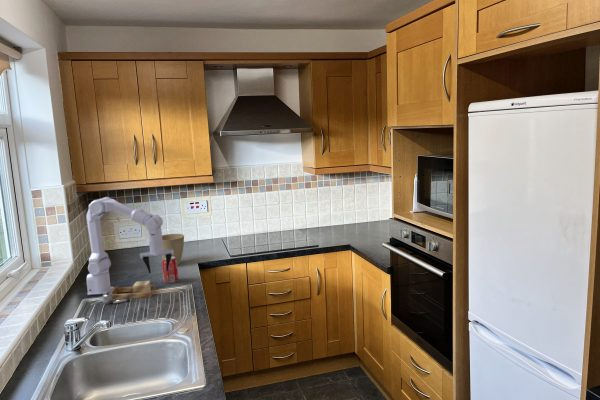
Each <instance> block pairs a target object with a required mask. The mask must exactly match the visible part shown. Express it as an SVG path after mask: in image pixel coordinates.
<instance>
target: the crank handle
mask: <svg viewBox="0 0 600 400" xmlns="http://www.w3.org/2000/svg"><path fill="white" fill-rule="evenodd" d="M124 302H125V303H126V302H127V303H128V302H131V298H130V297H129V295H127V296H126V299H115V300H113V305H115V304H120V303H124Z"/></svg>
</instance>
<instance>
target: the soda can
mask: <svg viewBox="0 0 600 400" xmlns="http://www.w3.org/2000/svg"><path fill="white" fill-rule="evenodd" d="M161 263H162V264H161V267H162V279H163V283H167V284H173V283H176V282H177V281H178V280H179V269H178V267H179V266H178V265H177V260H176V259H175V257H174V256H171V260H170V262H169V267H168V271H167V270H166V257H164V258H163V259H162V262H161Z"/></svg>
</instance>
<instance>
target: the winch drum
mask: <svg viewBox="0 0 600 400" xmlns="http://www.w3.org/2000/svg"><path fill="white" fill-rule="evenodd" d="M102 301H103V305H110V304H112V303H113V301H114V300H113V293H110V292H109V291H107V292H106V293H105V294H102Z"/></svg>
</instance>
